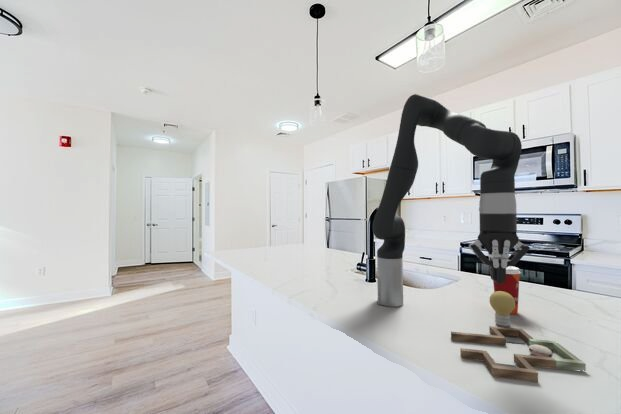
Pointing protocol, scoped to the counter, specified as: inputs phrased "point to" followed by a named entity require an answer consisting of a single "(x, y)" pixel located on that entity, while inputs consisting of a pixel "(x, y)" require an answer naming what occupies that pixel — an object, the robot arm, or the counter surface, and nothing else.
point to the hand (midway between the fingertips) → (498, 282)
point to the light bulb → (502, 307)
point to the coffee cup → (510, 285)
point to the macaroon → (540, 351)
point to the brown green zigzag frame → (522, 361)
